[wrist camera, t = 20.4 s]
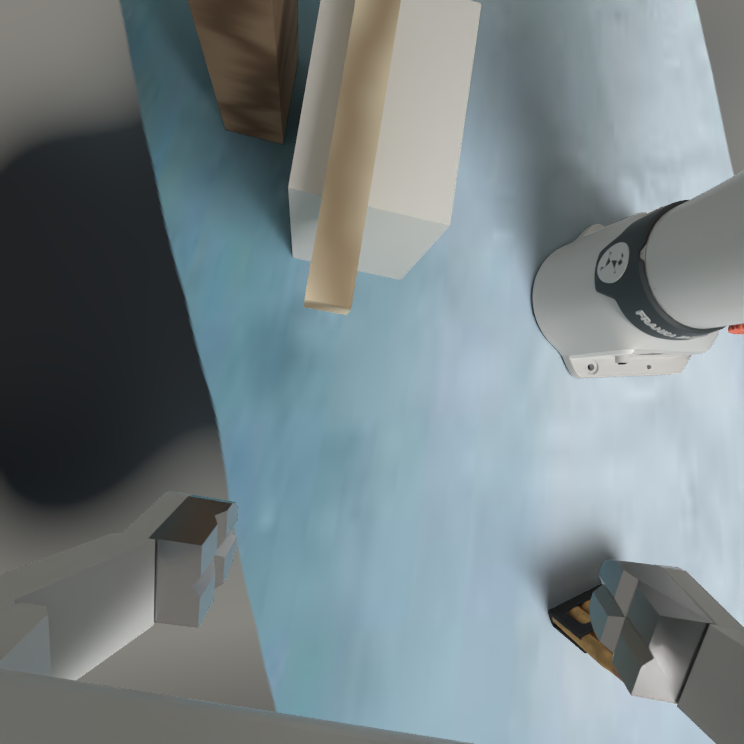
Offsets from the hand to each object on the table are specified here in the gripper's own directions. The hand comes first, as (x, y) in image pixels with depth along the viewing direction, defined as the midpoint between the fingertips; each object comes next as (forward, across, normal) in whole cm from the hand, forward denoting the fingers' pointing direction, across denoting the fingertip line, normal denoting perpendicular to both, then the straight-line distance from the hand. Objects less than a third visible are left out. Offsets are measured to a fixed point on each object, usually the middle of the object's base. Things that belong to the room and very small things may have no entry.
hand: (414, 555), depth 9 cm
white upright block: (+40, +6, -15) cm, 43 cm away
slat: (+24, +6, -15) cm, 28 cm away
